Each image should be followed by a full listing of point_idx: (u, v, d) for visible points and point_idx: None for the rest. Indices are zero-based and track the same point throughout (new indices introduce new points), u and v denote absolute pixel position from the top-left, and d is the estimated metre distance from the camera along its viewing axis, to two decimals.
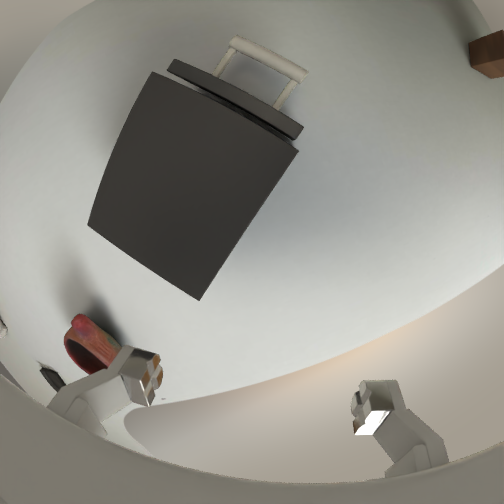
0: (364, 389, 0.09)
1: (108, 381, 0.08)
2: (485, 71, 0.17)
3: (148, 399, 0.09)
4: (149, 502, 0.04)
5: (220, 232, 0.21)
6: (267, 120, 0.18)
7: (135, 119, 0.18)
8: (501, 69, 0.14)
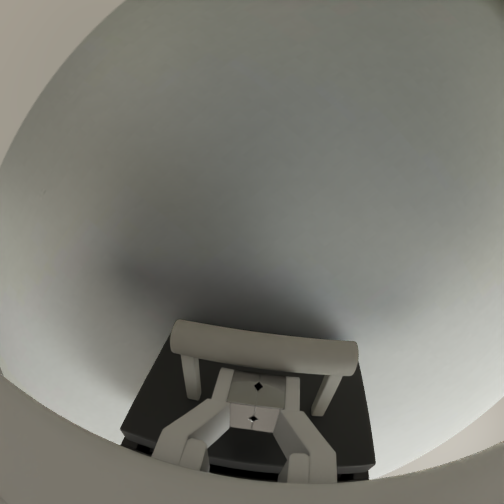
0: (258, 382, 0.09)
1: (219, 412, 0.07)
2: None
3: None
4: (149, 502, 0.04)
5: None
6: None
7: None
8: None
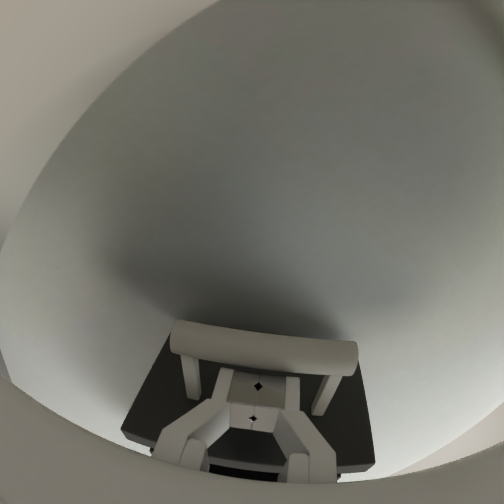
0: (258, 382, 0.09)
1: (219, 412, 0.07)
2: None
3: None
4: (149, 502, 0.04)
5: None
6: None
7: None
8: None
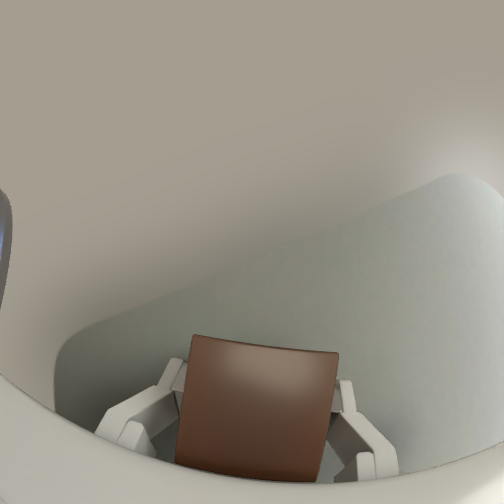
0: None
1: (161, 399, 0.07)
2: None
3: None
4: (149, 502, 0.04)
5: None
6: None
7: None
8: None
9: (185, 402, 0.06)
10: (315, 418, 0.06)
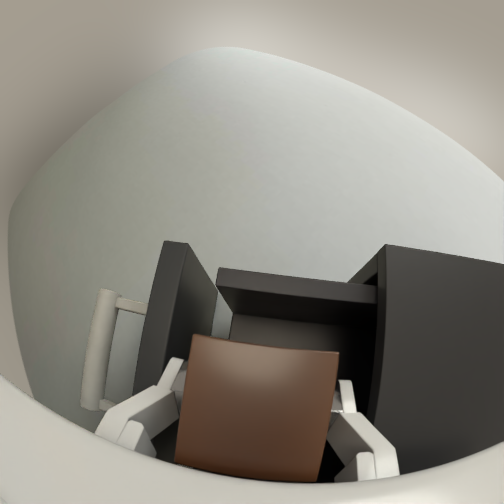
0: None
1: (161, 399, 0.07)
2: None
3: None
4: (149, 502, 0.04)
5: None
6: (172, 298, 0.10)
7: None
8: None
9: (185, 401, 0.06)
10: (315, 418, 0.06)
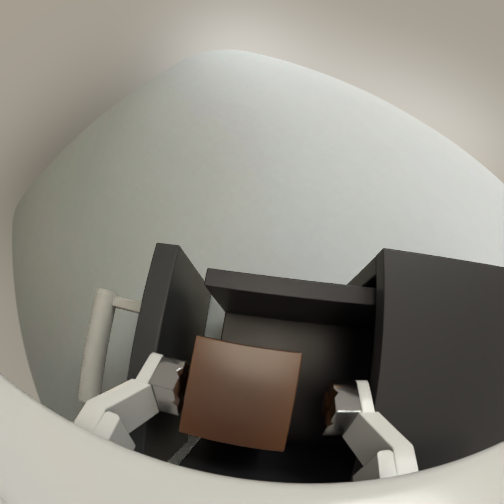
0: (331, 388, 0.09)
1: (138, 392, 0.08)
2: None
3: (178, 408, 0.09)
4: (149, 502, 0.04)
5: None
6: (164, 297, 0.11)
7: None
8: None
9: (189, 384, 0.09)
10: (283, 401, 0.09)
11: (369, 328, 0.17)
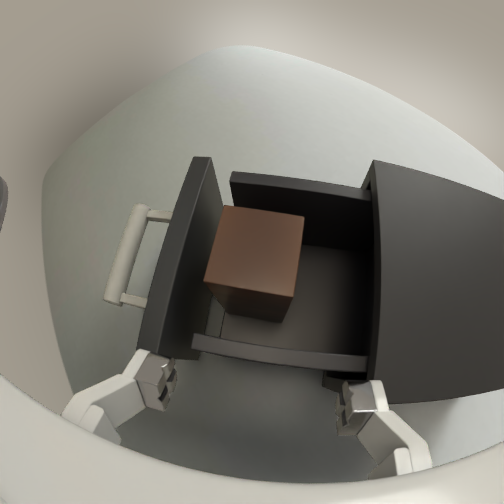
0: (346, 389, 0.09)
1: (124, 387, 0.08)
2: None
3: (164, 404, 0.09)
4: (149, 502, 0.04)
5: (481, 206, 0.13)
6: (198, 188, 0.15)
7: (444, 383, 0.09)
8: None
9: (216, 239, 0.13)
10: (291, 250, 0.12)
11: (363, 253, 0.20)
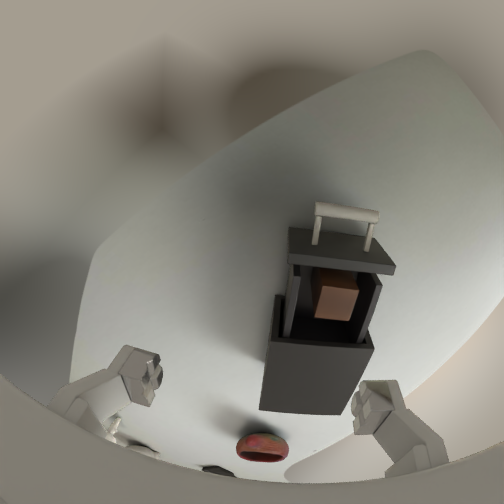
0: (364, 389, 0.09)
1: (108, 381, 0.08)
2: None
3: (148, 399, 0.09)
4: (149, 502, 0.04)
5: (344, 390, 0.32)
6: (373, 272, 0.26)
7: (273, 365, 0.32)
8: None
9: (341, 289, 0.27)
10: (333, 316, 0.28)
11: None
